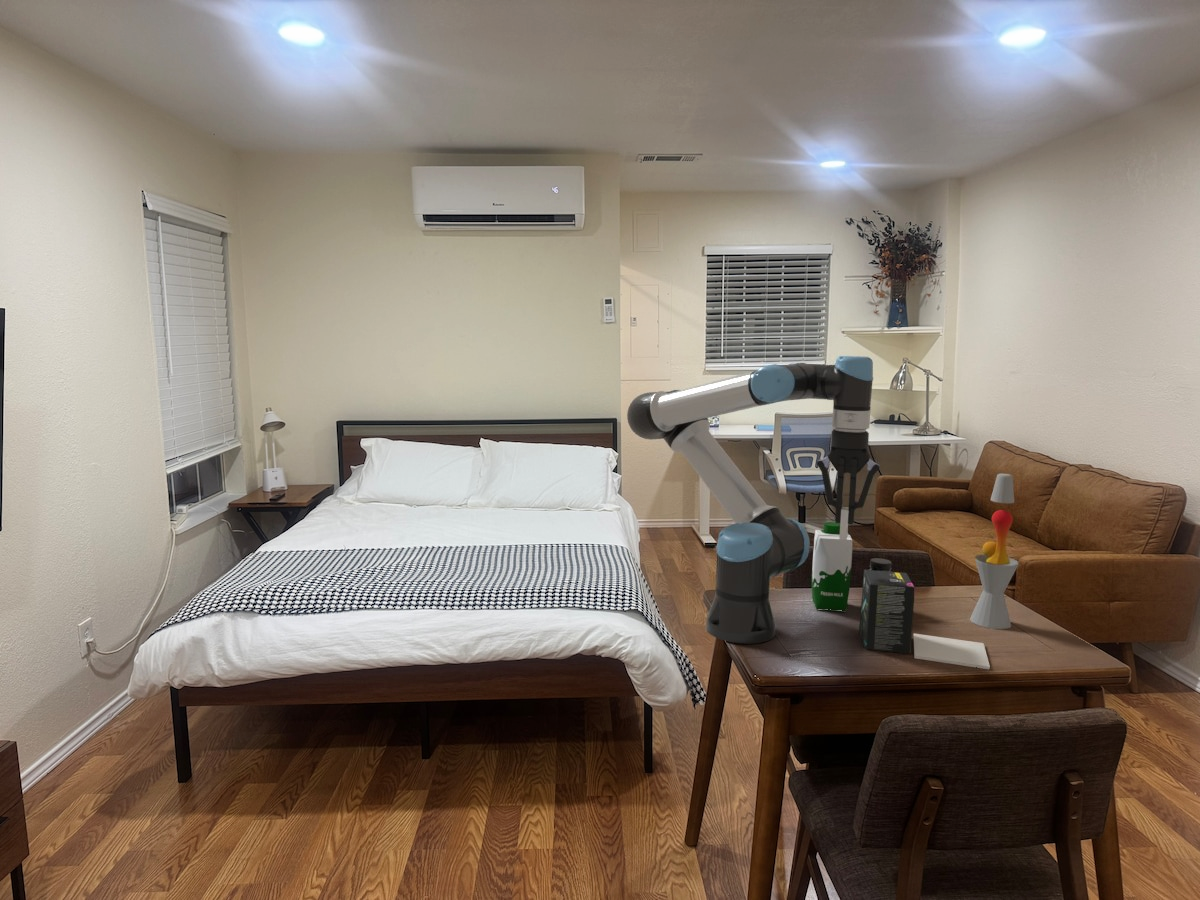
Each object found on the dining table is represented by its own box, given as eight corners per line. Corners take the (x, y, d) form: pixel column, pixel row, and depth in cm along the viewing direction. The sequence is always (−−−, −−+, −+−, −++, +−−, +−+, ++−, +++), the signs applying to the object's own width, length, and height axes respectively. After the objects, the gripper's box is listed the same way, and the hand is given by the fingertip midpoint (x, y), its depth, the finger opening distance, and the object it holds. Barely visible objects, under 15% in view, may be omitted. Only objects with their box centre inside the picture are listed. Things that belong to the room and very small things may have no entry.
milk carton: (844, 601, 196) (849, 522, 193) (850, 613, 187) (856, 531, 184) (808, 598, 197) (812, 521, 194) (813, 611, 189) (818, 530, 186)
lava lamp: (1019, 623, 183) (1034, 475, 178) (1001, 632, 177) (1017, 479, 172) (980, 612, 190) (993, 469, 185) (962, 620, 184) (975, 473, 179)
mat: (914, 658, 162) (914, 655, 162) (913, 635, 174) (913, 633, 174) (989, 669, 157) (989, 666, 157) (983, 645, 169) (983, 643, 169)
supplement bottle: (872, 614, 187) (876, 565, 185) (856, 604, 194) (859, 557, 192) (897, 612, 189) (901, 563, 187) (880, 602, 196) (884, 555, 194)
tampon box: (911, 654, 164) (916, 587, 162) (864, 650, 166) (869, 583, 164) (902, 635, 175) (907, 571, 173) (858, 631, 177) (863, 568, 174)
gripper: (816, 429, 166) (810, 538, 169) (882, 433, 161) (874, 545, 165) (820, 426, 173) (814, 531, 176) (883, 429, 168) (875, 537, 172)
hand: (843, 537), depth 170 cm, fingers closed
